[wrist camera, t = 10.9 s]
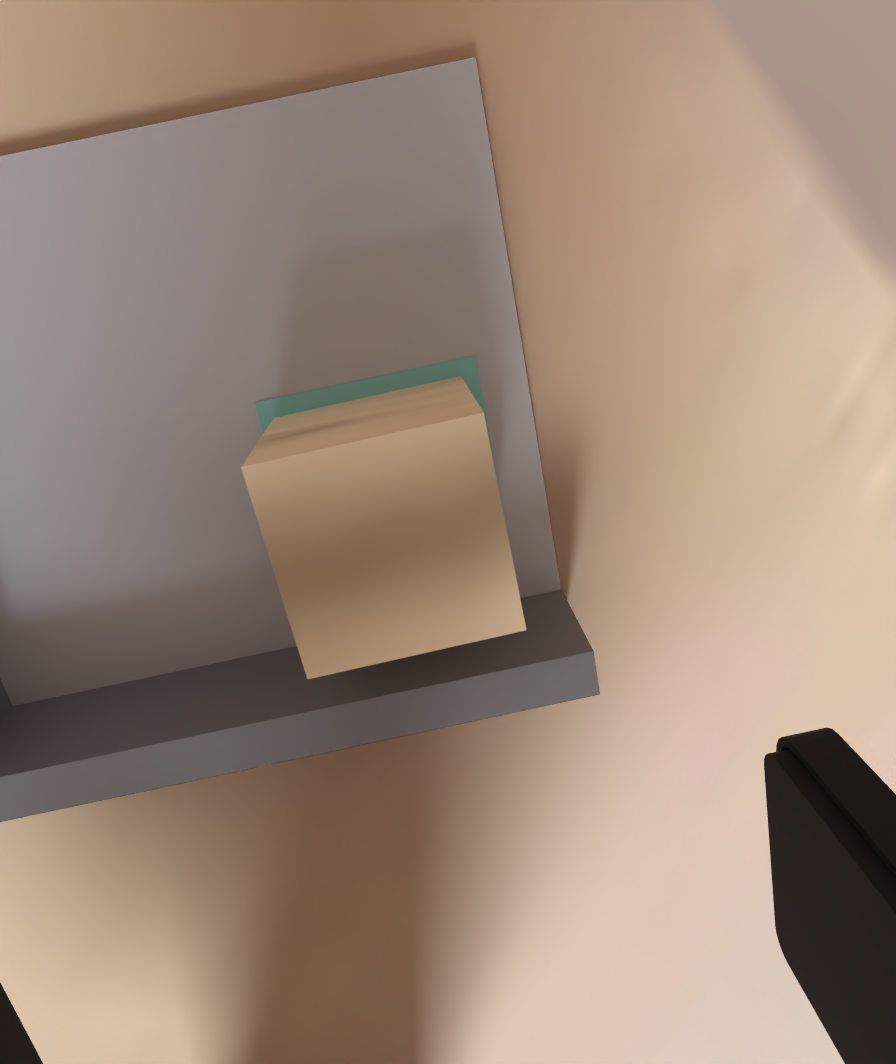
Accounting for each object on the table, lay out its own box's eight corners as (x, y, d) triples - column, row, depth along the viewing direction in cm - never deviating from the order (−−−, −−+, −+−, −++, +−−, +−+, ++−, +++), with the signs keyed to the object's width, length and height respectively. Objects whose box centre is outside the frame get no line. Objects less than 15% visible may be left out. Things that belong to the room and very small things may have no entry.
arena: (564, 621, 28) (599, 694, 24) (-6, 742, 28) (-84, 839, 24) (473, 60, 22) (497, 10, 18) (-256, 213, 22) (-428, 203, 18)
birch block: (496, 550, 27) (526, 630, 21) (323, 589, 27) (307, 679, 21) (461, 375, 25) (483, 412, 19) (273, 417, 25) (241, 467, 19)
